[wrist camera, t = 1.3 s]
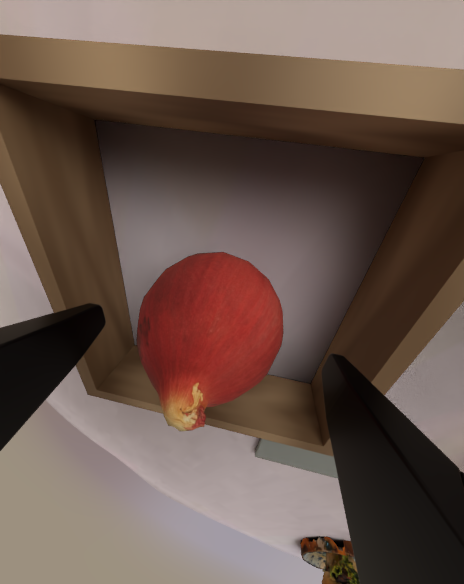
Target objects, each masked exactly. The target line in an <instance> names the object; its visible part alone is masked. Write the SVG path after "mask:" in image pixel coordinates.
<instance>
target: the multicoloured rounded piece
mask: <svg viewBox="0 0 464 584" xmlns="http://www.w3.org/2000/svg"><path fill="white" fill-rule="evenodd" d="M309 541H310V540H309V539H308V538H303V541H302V540H301V543H300V544H301V555H302V558H303V560H304V561H306V562H307V563H309V564H311V565H312V566H314V567H316V568H320V569H323V572H324V575H323V580H322V584H360V582H359V577H358V572H357V567H356V562H355V558H354V553H353V548H352V543H351V541H346V540H343V542H344V547H343V548H342V547H338V546H337V545H336V544H335V543H334V541H333V540H332V539H330V538H328V537H324V539H323V538H321V537H320V536H319V538H318V540H316V541H315V540H314V539H313V542H311V541H310V542H309Z"/></svg>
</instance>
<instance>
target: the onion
mask: <svg viewBox="0 0 464 584" xmlns="http://www.w3.org/2000/svg"><path fill="white" fill-rule="evenodd" d="M282 338H283V311H282V307H281V304H280V300H279V298H278V296H277V294H276V292H275V291H274V289H273V287H272V285H271V283H270V281H269V279H268V278H267V277H265V276H264V275H263V274H262V273H261V272H260V271H259V270H258V269H257V268H255V267H254V266H253V265H252V264H251V263H250V262H248V261H246V260H243V259H240V258H238V257H235V256H232V255H230V254H227V253H224V252H217V253H200V254H195V255H192V256H189V257H187V258H185V259H183V260H181V261H180V262H178V263H176V264H174V265H172V266H171V267H169V268H167V269H166V270H165V271H164V272H163V273H162V275H161V276H160V277H159V278H158V279H157V281H156V282H155V283H154V285H153V286H152V287H151V289H150V290H149V291H148V293H147V294H146V295H145V296H144V299H143V302H142V305H141V308H140V313H139V320H138V328H137V348H138V353H139V357H140V360H141V363H142V365H143V367H144V369H145V372H146V374H147V376H148V378H149V380H150V382H151V384H152V385H153V387H154V388H155V390H156V391H157V393H158V395H159V400H160V404H161V408H162V411H163V414H164V417H165V419H166V421H167V424H168V425H169V426H173V427H175V428H176V429H178V430H179V431H188V430H193V429H196V428H198V427H204V424H205V420H206V415H205V413H204V411H205V409H206V407H214V406H217V405H220V404H224V403H227V402H230V401H233V400H234V399H236V398H238V397H239V396H241V395H242V394H244V393H245V392H247V391H248V390H250V389H251V388H253V387H254V386H256V385H257V384H258V383H260V382H261V381H262V380H263V378H264V377H265V376H266V375H267V374H268V372H269V370H270V368H271V365H272V363H273V361H274V359H275V357H276V355H277V353H278V351H279V349H280V347H281V344H282Z"/></svg>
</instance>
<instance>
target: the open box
mask: <svg viewBox="0 0 464 584" xmlns="http://www.w3.org/2000/svg"><path fill="white" fill-rule="evenodd" d="M94 119H95V120H103V121H112V122H121V123H130V124H138V125H147V126H156V127H164V128H173V129H182V130H190V131H199V132H208V133H217V134H225V135H234V136H243V137H251V138H260V139H269V140H277V141H286V142H295V143H304V144H312V145H321V146H330V147H338V148H347V149H356V150H364V151H373V152H382V153H390V154H399V155H408V156H417V157H425V159H424V161H423V162H422V164H421V166H420V168H419V170H418V172H417V174H416V176H415V178H414V180H413V182H412V184H411V186H410V188H409V190H408V192H407V194H406V196H405V198H404V200H403V202H402V204H401V206H400V208H399V210H398V212H397V214H396V216H395V218H394V220H393V222H392V224H391V226H390V228H389V230H388V232H387V234H386V236H385V238H384V240H383V242H382V244H381V246H380V248H379V250H378V252H377V254H376V256H375V257H374V259H373V261H372V263H371V265H370V267H369V269H368V271H367V273H366V275H365V277H364V279H363V281H362V283H361V285H360V287H359V289H358V291H357V293H356V295H355V297H354V299H353V301H352V303H351V305H350V307H349V309H348V311H347V313H346V315H345V317H344V319H343V321H342V323H341V325H340V327H339V329H338V331H337V333H336V335H335V337H334V339H333V341H332V343H331V345H330V347H329V349H328V351H327V352H326V354H325V356H324V358H323V360H322V362H321V364H320V366H319V368H318V370H317V372H316V374H315V376H314V378H313V380H312V382H311V384H308V383H303V382H299V381H294V380H290V379H285V378H281V377H276V376H272V375H266V376H265V377H264V378H263V380H262V381H261V382H260V383H258V384H257V385H256V386H254V387H253V388H251V389H250V390H248V391H247V392H245V393H244V394H242V395H241V396H239V397H238V398H236V399H234V400H233V401H230V402H227V403H224V404H220V405H217V406H214V407H206V409H205V411H204V413H205V415H206V420H205V424H206V425H210V426H214V427H218V428H222V429H226V430H230V431H234V432H238V433H241V434H245V435H249V436H253V437H257V438H261V439H265V440H269V441H273V442H277V443H281V444H285V445H289V446H293V447H297V448H301V449H305V450H309V451H312V452H316V453H320V454H324V455H328V456H332V457H333V456H334V455H333V451H332V446H331V441H330V436H329V431H328V426H327V421H326V414H325V405H324V395H323V385H322V374H321V373H322V368H323V366H324V364H325V362H326V360H327V358H328V356H329V355H330V354H331V353H334V354H339V355H343V356H344V357H345V358H346V359H347V360H348V361H350V362H351V363H352V364H353V365H354V366H355V367H356V368H357V369H358V370H359V371H360V372H361V373H362V374H363V375H364V376H365V377H366V378H367V379H368V380H369V381H370V382H371V383H372V384H373V385H374V386H375V387H376V388H377V389H378V390H379V391H380V392H381V393H382V394H383V395H385V394H386V393H387V391H388V390H389V389H390V388H391V387H392V385H393V384H394V383H395V382H396V381H397V380H398V378H399V377H400V376H401V375H402V374H403V372H404V371H405V370H406V369H407V368H408V366H409V365H410V364H411V363H412V362H413V360H414V359H415V358H416V357H417V356H418V355H419V353H420V352H421V351H422V350H423V349H424V347H425V346H426V345H427V344H428V343H429V341H430V340H431V339H432V338H433V337H434V336H435V334H436V333H437V332H438V331H439V330H440V328H441V327H442V326H443V325H444V324H445V322H446V321H447V320H448V319H449V318H450V317H451V315H452V314H453V313H454V312H455V311H456V309H457V308H458V307H459V306H460V305H461V303H462V302H463V301H464V70H460V69H447V68H434V67H421V66H408V65H395V64H381V63H368V62H355V61H342V60H329V59H316V58H303V57H289V56H276V55H263V54H250V53H237V52H224V51H211V50H197V49H184V48H171V47H158V46H145V45H132V44H118V43H105V42H92V41H79V40H66V39H53V38H40V37H26V36H13V35H0V184H1V186H2V188H3V191H4V193H5V196H6V198H7V201H8V203H9V205H10V208H11V210H12V213H13V215H14V217H15V220H16V222H17V225H18V227H19V229H20V232H21V234H22V237H23V239H24V242H25V244H26V246H27V249H28V251H29V254H30V256H31V258H32V261H33V263H34V266H35V268H36V271H37V273H38V275H39V278H40V280H41V283H42V285H43V287H44V290H45V292H46V295H47V297H48V299H49V302H50V304H51V307H52V309H53V312H54V313H56V312H59V311H63V310H66V309H70V308H74V307H77V306H81V305H84V304H88V303H93V304H98V305H101V306H102V308H103V312H104V315H105V319H106V324H105V327H104V328H103V329H102V331H101V332H100V334H99V335H98V336H97V338H96V339H95V340H94V342H93V343H92V345H91V346H90V347H89V349H88V350H87V351H86V353H85V354H84V355H83V357H82V358H81V359H80V361H79V362H78V363H77V364H76V367H77V369H78V372H79V374H80V377H81V379H82V382H83V384H84V386H85V389H86V391H87V394H88V395H92V396H96V397H99V398H103V399H107V400H111V401H115V402H119V403H123V404H127V405H131V406H135V407H139V408H143V409H147V410H151V411H155V412H159V413H163V411H162V408H161V404H160V400H159V395H158V393H157V391H156V390H155V388H154V387H153V385H152V384H151V382H150V380H149V378H148V376H147V374H146V372H145V369H144V367H143V365H142V363H141V360H140V357H139V353H138V348H137V345H135V344H134V339H133V333H132V328H131V322H130V317H129V311H128V305H127V300H126V294H125V289H124V283H123V278H122V272H121V266H120V261H119V255H118V250H117V244H116V238H115V233H114V227H113V222H112V216H111V211H110V205H109V199H108V194H107V188H106V183H105V177H104V172H103V166H102V160H101V155H100V149H99V144H98V138H97V132H96V127H95V121H94Z"/></svg>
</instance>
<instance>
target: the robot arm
mask: <svg viewBox="0 0 464 584" xmlns="http://www.w3.org/2000/svg"><path fill="white" fill-rule="evenodd" d="M105 324H106V319H105V315H104V312H103V308H102V306H101V305H98V304H93V303H88V304H84V305H81V306H77V307H74V308H70V309H66V310H63V311H59V312H56V313H52V314H48V315H45V316H41V317H38V318H34V319H31V320H27V321H23V322H20V323H16V324H13V325H9V326H5V327H2V328H0V451H1V450H2V449H3V448H4V446H5V445H6V444H7V443H8V442H9V441H10V440H11V438H12V437H13V436H14V435H15V434H16V432H18V430H19V429H20V428H21V427H22V426H23V425H24V424H25V422H26V421H27V420H28V419H29V418H30V417H31V415H32V414H33V413H34V412H35V411H36V410H37V409H38V408H39V406H40V405H41V404H42V403H43V402H44V401H45V400H46V398H47V397H48V396H49V395H50V394H51V393H52V392H53V390H54V389H55V388H56V387H57V386H58V385H59V384H60V382H61V381H62V380H63V379H64V378H65V377H66V376H67V374H68V373H69V372H70V371H71V370H72V369H73V368H74V366H75V365H76V364H77V363H78V362H79V361H80V359H81V358H82V357H83V355H84V354H85V353H86V351H87V350H88V349H89V347H90V346H91V345H92V343H93V342H94V340H95V339H96V338H97V336H98V335H99V334H100V332H101V331H102V329H103V328H104V327H105ZM321 374H322V385H323V395H324V405H325V414H326V421H327V426H328V431H329V436H330V441H331V446H332V451H333V455H334V460H335V465H336V470H337V475H338V480H339V485H340V489H341V494H342V499H343V504H344V509H345V514H346V519H347V524H348V528H349V533H350V538H351V543H352V548H353V553H354V558H355V562H356V567H357V572H358V577H359V582H360V584H464V473H463V472H461V471H460V470H459V468H458V467H457V466H456V465H455V464H454V463H453V462H452V461H451V460H450V459H449V458H448V457H447V456H446V455H445V454H444V453H443V452H442V451H441V450H440V449H439V448H438V447H437V446H436V445H435V444H433V443H432V442H431V441H430V440H429V439H428V438H427V437H426V436H425V435H424V434H423V433H422V432H421V431H420V430H419V429H418V428H417V427H416V426H415V425H414V424H413V423H412V422H411V421H410V420H409V419H408V418H407V417H406V416H405V415H404V414H403V413H402V412H401V411H400V410H399V409H398V408H397V407H396V406H395V405H394V404H393V403H392V402H390V401H389V400H388V399H387V398H386V397H385V396H384V395H383V394H382V393H381V392H380V391H379V390H378V389H377V388H376V387H375V386H374V385H373V384H372V383H371V382H370V381H369V380H368V379H367V378H366V377H365V376H364V375H363V374H362V373H361V372H360V371H359V370H358V369H357V368H356V367H355V366H354V365H353V364H352V363H351V362H350V361H348V360H347V359H346V358H345V357H344V356H343V355H339V354H334V353H331V354H330V355H329V356H328V358H327V360H326V362H325V364H324V366H323V368H322V373H321Z"/></svg>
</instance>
